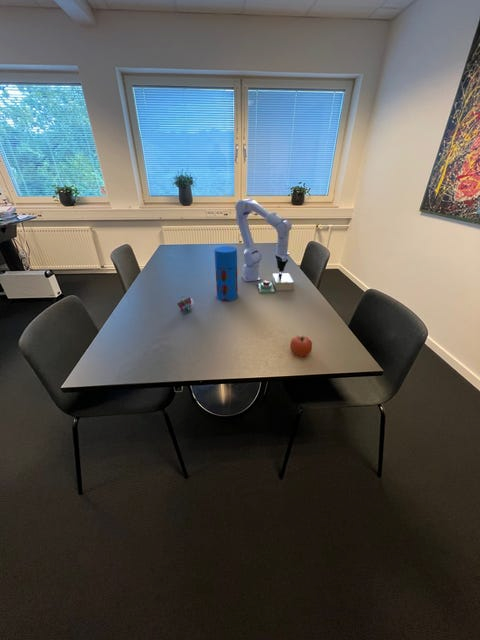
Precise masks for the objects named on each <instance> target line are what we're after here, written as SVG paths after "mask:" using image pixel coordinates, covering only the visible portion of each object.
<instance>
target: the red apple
mask: <svg viewBox="0 0 480 640" xmlns="http://www.w3.org/2000/svg"><path fill="white" fill-rule="evenodd" d="M289 349H290V351H291V352H292V353H293V354H294V355H295V356H297V357H306V356H307V355H309V354H311V352H312V350H313V342H312V340H311V339H310V338H309V337H308V336H304V335H297V336H295V337H292V338H291V340H290V346H289Z"/></svg>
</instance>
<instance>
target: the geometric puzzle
mask: <svg viewBox="0 0 480 640" xmlns="http://www.w3.org/2000/svg"><path fill="white" fill-rule="evenodd" d="M180 300H181V301H179V302H177V306H178V307H179V309H180V311H185V310H187V311H188V312H190V311H191V309H192V308H193V306H194V305H195V302H194V299H193V298H191V297H186V298H185V299H184V296H181V299H180ZM191 307H192V308H191Z"/></svg>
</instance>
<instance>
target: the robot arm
mask: <svg viewBox="0 0 480 640" xmlns="http://www.w3.org/2000/svg"><path fill="white" fill-rule="evenodd" d="M234 208H235V209H234V210H235V219H236V222H237V226H238V229H239V232H240V236H241V239H242V242H243V245H244V249H245V250H244V252H243V256H244V257H243V261H244V264H243V265H242V276H241V278H242V279H243V280H244V282H246V283H247V282H255V281H261V280H262V278H260V275H259V273H260V271H259V270H260V262H261V260H262V254H261V252H260V251H259V248H258V247H257V246H255V242H254V240H253V236H252V235H253V234H252V232H251V229H250V226H249V222H248V217H249V215H250V214H251V213H253V212H254V213H256V215H259V216H260V217H262V218H264V219H265V222H266V223H267V224H268V225H270V226H271V227H273V228H274V229H275V230H276V233H277V241H276V253H275V255H274V256H275V259H276V265H277V266H276V267H277V269H278V271H279V272H281V273H283V272H284V271H285V267H286V265H287V263H288V262H289V259H288V258H287V257H288V256H290V252H289V251H288V247H289V241H290V240H289V238H290V231H291V230H292V228H293V226H292V223H291V221H290V220H289V219H285V218H284V217H280V216H279V215H278V213H277V212H269V210H267V209H265V207H263V206H262V205H260V204H259V203H258V202H257V201H256V200H255V199H253V198H250V197H249V198H246V199H239V200H237V201H236V203H235V206H234Z"/></svg>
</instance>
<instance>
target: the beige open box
mask: <svg viewBox="0 0 480 640" xmlns="http://www.w3.org/2000/svg"><path fill="white" fill-rule="evenodd" d="M272 284H273V287H274V289H275V291H294V287H295V282H294V283H280V284H276V282H275V280H274V277H273V276H272Z"/></svg>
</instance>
